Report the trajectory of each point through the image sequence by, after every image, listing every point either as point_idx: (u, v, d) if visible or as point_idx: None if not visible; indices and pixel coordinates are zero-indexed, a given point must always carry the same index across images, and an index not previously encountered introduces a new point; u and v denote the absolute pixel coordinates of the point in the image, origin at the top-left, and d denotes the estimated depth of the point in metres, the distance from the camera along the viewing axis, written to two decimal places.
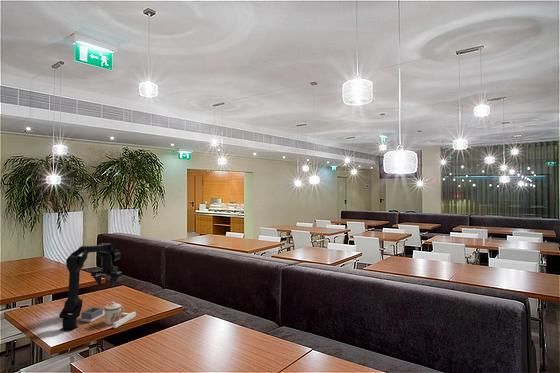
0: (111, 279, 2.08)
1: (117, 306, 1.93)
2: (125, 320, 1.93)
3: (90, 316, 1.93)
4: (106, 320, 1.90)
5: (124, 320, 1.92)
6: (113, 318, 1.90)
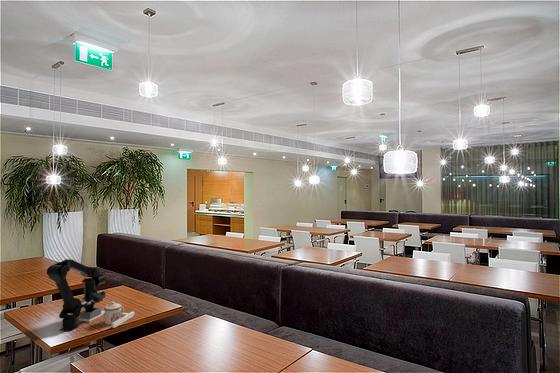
0: None
1: (117, 306, 1.93)
2: (123, 320, 1.93)
3: (89, 316, 1.94)
4: (106, 320, 1.90)
5: (122, 320, 1.92)
6: (113, 318, 1.90)
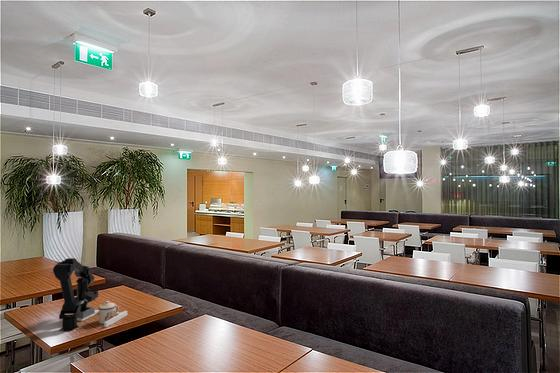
0: None
1: (111, 305, 1.93)
2: (116, 319, 1.94)
3: (81, 315, 1.95)
4: (100, 319, 1.91)
5: (115, 319, 1.93)
6: (108, 318, 1.91)
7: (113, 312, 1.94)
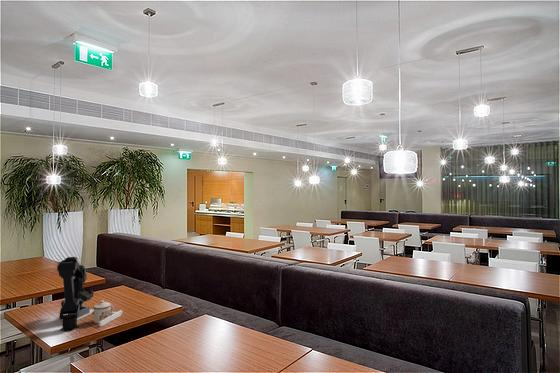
0: None
1: (106, 305, 1.94)
2: (111, 319, 1.95)
3: None
4: (95, 319, 1.92)
5: (110, 319, 1.94)
6: (102, 317, 1.92)
7: (108, 311, 1.94)
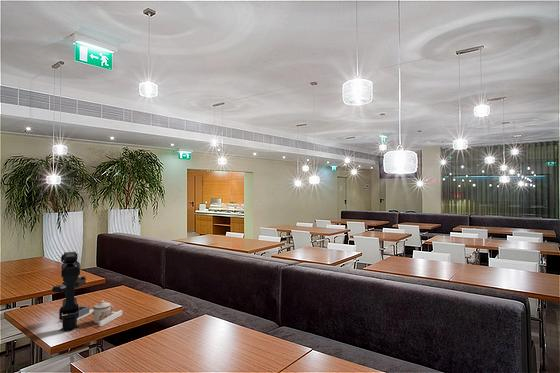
0: None
1: (106, 305, 1.94)
2: (111, 319, 1.95)
3: None
4: (95, 319, 1.92)
5: (110, 318, 1.94)
6: (102, 317, 1.92)
7: (108, 312, 1.94)
